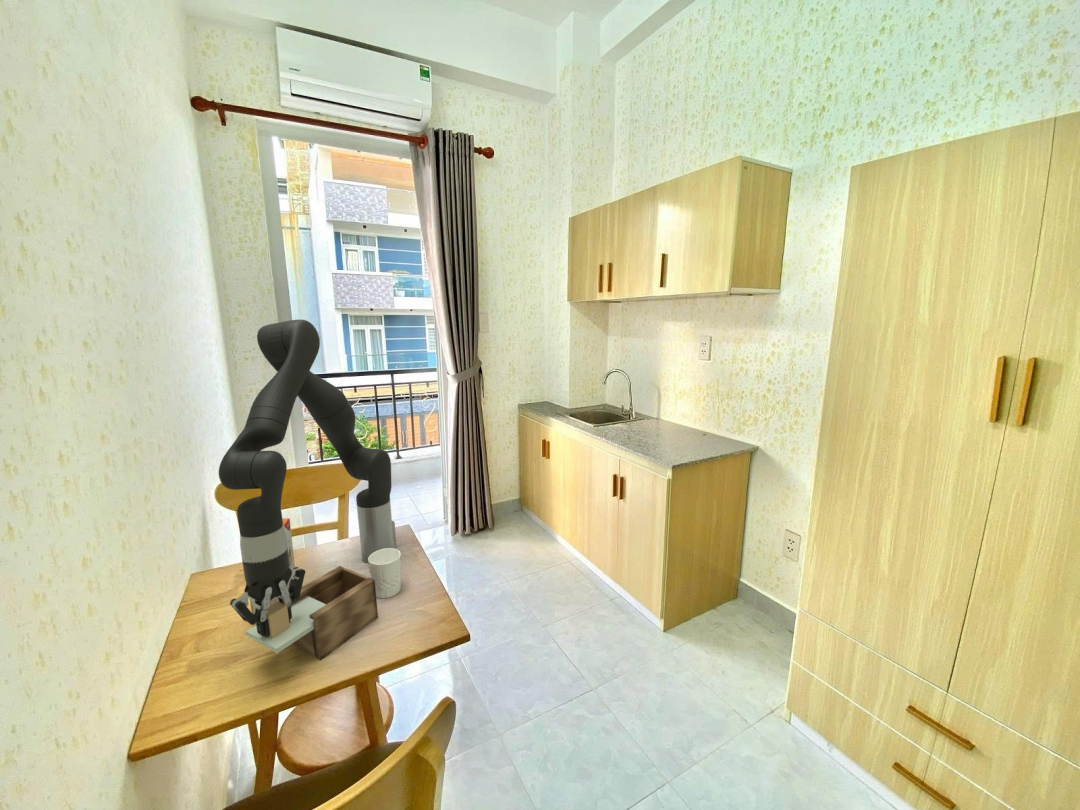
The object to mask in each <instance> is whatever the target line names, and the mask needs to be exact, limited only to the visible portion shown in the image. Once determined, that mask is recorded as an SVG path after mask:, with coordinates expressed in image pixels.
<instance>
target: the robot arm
mask: <svg viewBox="0 0 1080 810" xmlns="http://www.w3.org/2000/svg"><path fill="white" fill-rule="evenodd" d="M319 335H320V334H319V332H318V330H317V329H316V327H315V325H314V324H313V323H311V322H310V321H308V320H306V319H292V320H286V321H280V322H276V323H274V322H273V323H269V324H266V325H263V326H261V327H260V328H259V329H258V331H257V335H256V337H257V338H256V340H257V344H258V346H259V349H260V352H261V353H262V355H263V356H264V358H265V360H267V362H268V363H269V364H270V365H271V366H272V368H273V369H274V370H275V371H276V373H275V374H274V375H273V377H272V378H271V379H270V380H269V381H268V382H267V384H266V385H265V386H264V387H263V388H261V390H260V391H259V393H258V394H257V396H256V397H255V398H254V401H253V402H252V404H251V406H250V410H249V413H248V416H247V419H246V421H245V426H244V428H243V429H242V431H241V432H240V434H239V435H238V436H237V438H236V439H235V440H234V441H233V443H232V444H231V446H230V447H229V448H228V449H227V450H226V453H225V454H224V455H223V457H222V459H221V461H220V464H219V467H218V477H219V481H220V483H221V485H222V486H223V487H224V488H227V489H229V490H234V491H236V490H258V489H260V491H261V492H260V493H261V494H260V495H259V496H256V497H255V496H254V497H251V498H248V499H246V500H244V501H242V502H241V503H240V504H239V505H238V506H237V509H236V516H237V524H238V528H239V539H240V540H239V547H240V554H241V562H242V567H243V573H244V574H243V576H244V580H245V588H244V592H243V593H241V595H240V596H238V597H237V598H233V599H231V600H230V602H229V605H230V606H231V608H233V610H235V612H236V613H237V614H238V615H239V617H240V618H241V619H242V620H243V621H244V622H246V623H248V624H250V625H253V624H255V623H256V627H257V632H258V634H260V635H261V636H264V637H268V636H269V635H270V630H269V623H268V619H267V611H268V609H269V606H270V601H271V600H272V599H273V598H275V597H277V599H278V601H279V602H281V603H283V604H285V605H287V609H288V617H289V623H290V619H292V611H291V604H292V602H293V601H294V600H295V599H298V598H299V596H300V592H301V588H302V587H303V583H304V579H305V575H306V570H305V569H303V568H301V567H299V566H295V568H294V569H290V568H289V566H290V563H289V556H288V548H287V539H286V534H285V530H284V527H283V520H282V519H283V514H282V498H283V490H284V489H283V488H284V485H285V479H286V475H287V469H288V468H287V467H288V466H287V465H288V464H287V462H286V459H285V458H284V456H283V455H282V454H281V453H280V452H278V451H276V450H265V449H267V448H270V447H271V448H272V447H275V446H278V445H280V444H281V443H283V441H284V440H285V437H286V433H287V430H288V427H289V423H290V420H291V419H290V418H291V414H292V412H293V409H294V405H295V402H296V400H297V397H298V398H299V400H300V401H301V403H302V404H303V405H304V407H305V408H306V409H307V411H308V413H309V414H310V416H311V418H313V419H312V420H313V421H315V423H316V424H317V426H318V427H319V429H320V430H321V431H322V432H323V434H324V436H326V438H327V439H328V441H329V443H330V444H331V446H332V447H333V448H334V450H335V452H336V453H337V455H338V457H339V459H340V461H341V463H342V465H343V466H344V469H345V470H346V472H347V473H348V474H349V476H350V477H352V478H353V479H355V480H359V481H367V482H368V485H367V487H368V488H366V489H365V488H364V489H362V490H360V491H359V492H358V493H357V494H356V496H355V502H356V510H357V520H358V521H357V523H358V531H359V543H360V552H361V560H362V561H363V562H364V563H368V564H369V562H368V558H369V556H370V555H371V554H372V553H374V552H375V551H378V550H381V549H385V548H394V549H397V550H398V548H397V545H398V544H397V535H396V534H397V533H396V522H395V521H394V520H393V518H392V508H391V507H392V506H391V492H392V491H391V490H392V462H391V457H390V455H389V453H388V452H387V451H386V450H384V449H380V448H378V449H377V448H370V447H365V446H363V445H362V444H361V442H360V441H359V439H358V438H357V436H356V433H355V426H356V413H355V411H354V408H353V407H352V405H351V403H350V401H349V400H348V398H347V397H346V395H345V393H343V391H341V389H339V388H338V387H336V386H335V385H333V384H332V383H330V382H329V381H327V380H325V379H324V378H321V377H320V376H318V375H316V373H314V372H312V371H311V369H312V366H313V365H314V363H315V360H316V358H317V356H318V353H319V351H320V344H321V340H320V336H319ZM290 578H291V580H290ZM289 580H290V584H289V588H288V589H287V587H286V586H287V584H288V582H289ZM250 597H251V598H253V606H254V614H252V612H251V609H249V604H250V602H249V599H250Z"/></svg>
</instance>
